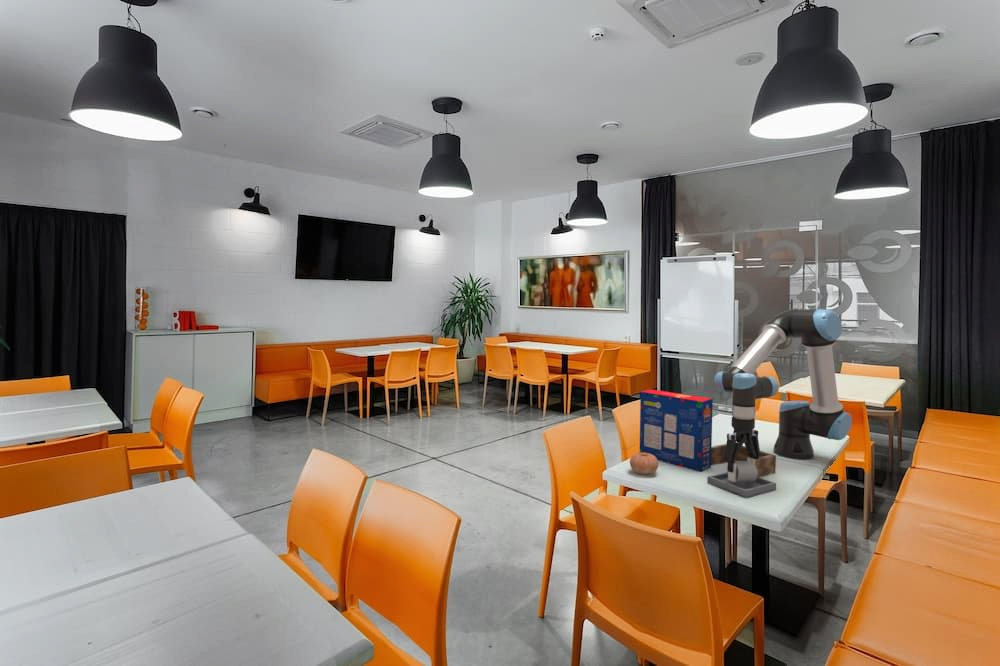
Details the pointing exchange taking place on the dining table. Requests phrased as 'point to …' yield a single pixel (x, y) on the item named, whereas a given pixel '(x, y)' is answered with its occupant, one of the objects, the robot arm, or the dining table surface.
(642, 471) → the orange ribbed round gourd
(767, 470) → the bay
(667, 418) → the pasta box
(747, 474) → the ceramic mug
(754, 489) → the tray
